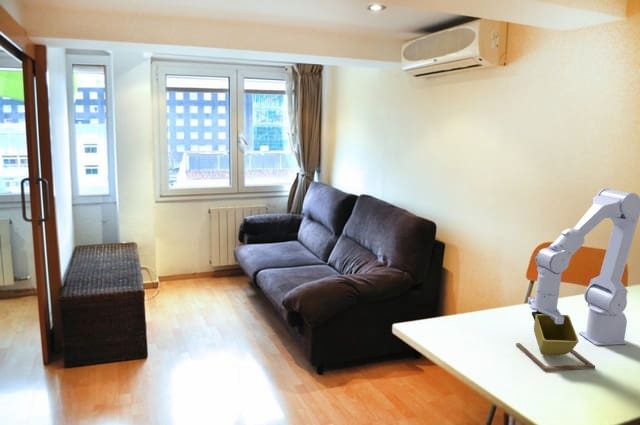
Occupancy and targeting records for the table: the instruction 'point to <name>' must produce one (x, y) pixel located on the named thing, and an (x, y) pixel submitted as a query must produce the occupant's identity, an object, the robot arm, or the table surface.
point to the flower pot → (554, 335)
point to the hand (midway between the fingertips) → (541, 337)
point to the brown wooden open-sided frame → (557, 368)
